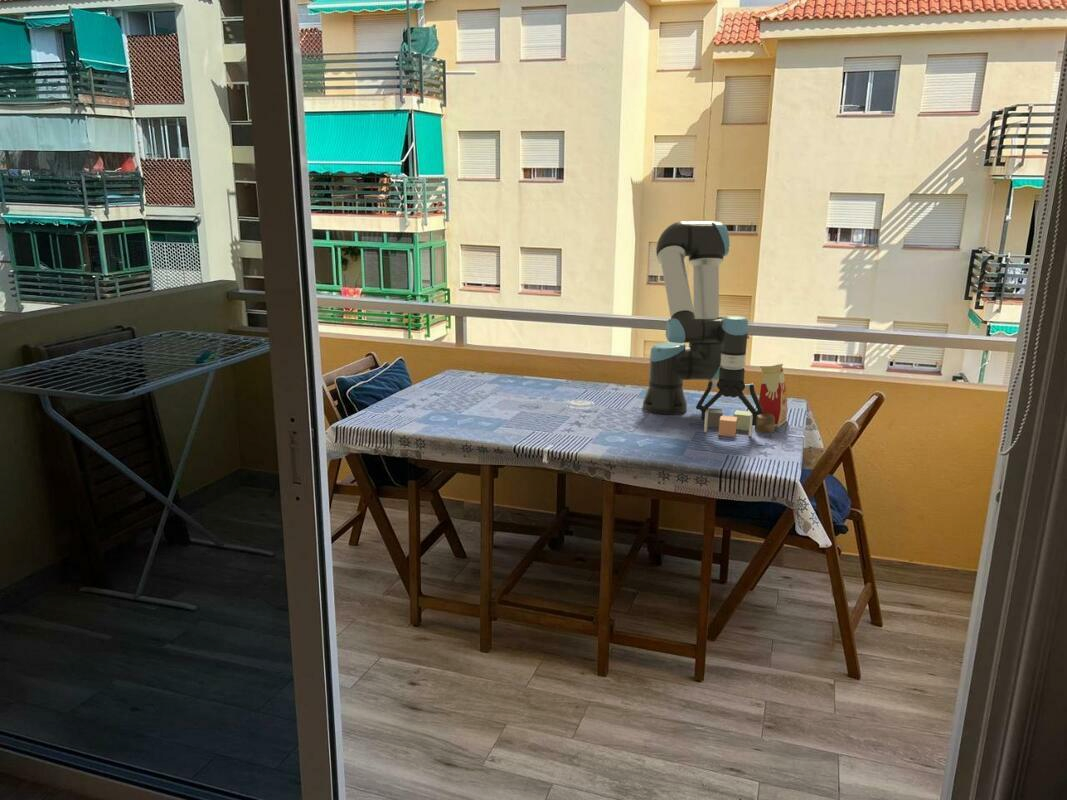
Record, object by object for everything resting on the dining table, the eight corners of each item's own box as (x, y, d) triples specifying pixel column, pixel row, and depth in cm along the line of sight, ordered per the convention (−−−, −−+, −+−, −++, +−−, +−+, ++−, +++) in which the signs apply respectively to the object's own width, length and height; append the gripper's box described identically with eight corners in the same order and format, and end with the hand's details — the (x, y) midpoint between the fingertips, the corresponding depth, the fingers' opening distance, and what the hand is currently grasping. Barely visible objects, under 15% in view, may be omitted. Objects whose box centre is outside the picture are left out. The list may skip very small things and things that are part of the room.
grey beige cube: (705, 427, 251) (706, 412, 250) (705, 422, 256) (706, 408, 255) (721, 427, 250) (722, 412, 249) (720, 423, 255) (721, 408, 254)
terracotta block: (718, 435, 243) (719, 419, 241) (719, 430, 247) (720, 415, 246) (734, 436, 241) (736, 421, 240) (735, 432, 246) (737, 417, 245)
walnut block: (757, 432, 245) (758, 417, 244) (754, 428, 250) (756, 413, 249) (773, 433, 245) (775, 418, 244) (770, 428, 250) (772, 413, 248)
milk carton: (786, 420, 259) (792, 361, 253) (779, 427, 251) (785, 367, 246) (759, 416, 263) (764, 358, 258) (751, 423, 255) (756, 363, 250)
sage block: (732, 429, 249) (733, 414, 248) (735, 424, 254) (736, 410, 252) (748, 430, 247) (749, 415, 246) (750, 426, 252) (752, 411, 250)
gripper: (689, 366, 239) (686, 432, 244) (774, 372, 232) (768, 440, 237) (692, 362, 246) (688, 426, 251) (774, 367, 238) (769, 433, 244)
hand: (727, 433), depth 244 cm, fingers open, 13 cm apart
